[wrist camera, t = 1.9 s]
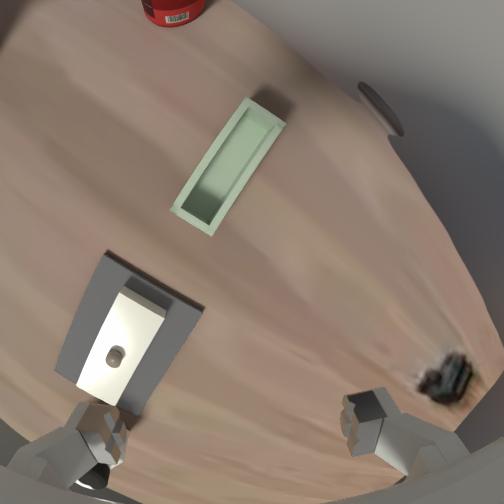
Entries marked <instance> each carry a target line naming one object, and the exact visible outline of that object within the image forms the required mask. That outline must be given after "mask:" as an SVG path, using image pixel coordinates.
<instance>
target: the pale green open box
mask: <svg viewBox="0 0 504 504" xmlns="http://www.w3.org/2000/svg"><path fill="white" fill-rule="evenodd" d="M285 125H286V123H285V122H283V121H282V120H280V119H279V118H278V117H276V116H275V115H273V114H272V113H270V112H269V111H267V110H266V109H264V108H263V107H261V106H260V105H258V104H257V103H255V102H254V101H252V100H251V99H249V98H248V97H246V98H245V99H244V101H243V102H242V103H241V105H240V106H239V107H238V109H237V110H236V111H235V113H234V114H233V116H232V117H231V118H230V120H229V121H228V123H227V124H226V125H225V127H224V128H223V130H222V131H221V132H220V134H219V135H218V137H217V138H216V140H215V141H214V142H213V144H212V145H211V147H210V148H209V150H208V151H207V153H206V154H205V156H204V157H203V159H202V160H201V162H200V163H199V165H198V166H197V168H196V169H195V171H194V172H193V174H192V175H191V177H190V179H189V180H188V182H187V183H186V185H185V186H184V188H183V189H182V191H181V193H180V194H179V196H178V197H177V199H176V201H175V202H174V204H173V206H172V207H171V209H170V210H169V211H171V212H173V213H174V214H176V215H178V216H179V217H181V218H182V219H184V220H186V221H187V222H189V223H190V224H192V225H194V226H195V227H197V228H199V229H200V230H202V231H203V232H205V233H207V234H208V235H210V236H212V235H213V234H214V232H215V230H216V229H217V227H218V226H219V224H220V223H221V221H222V219H223V218H224V216H225V215H226V213H227V212H228V210H229V209H230V207H231V205H232V204H233V202H234V201H235V199H236V198H237V196H238V195H239V193H240V192H241V190H242V189H243V187H244V185H245V184H246V182H247V181H248V179H249V178H250V176H251V175H252V173H253V172H254V170H255V169H256V167H257V166H258V164H259V163H260V161H261V160H262V158H263V157H264V155H265V154H266V152H267V151H268V150H269V148H270V147H271V145H272V144H273V142H274V141H275V139H276V138H277V136H278V135H279V133H280V132H281V131H282V129H283V128H284V126H285Z"/></svg>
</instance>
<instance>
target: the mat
mask: <svg viewBox="0 0 504 504" xmlns="http://www.w3.org/2000/svg"><path fill="white" fill-rule="evenodd" d="M123 286H125V287H127V288H129V289H130V290H132V291H134V292H135V293H137V294H139V295H141V296H142V297H144V298H146V299H147V300H149V301H151V302H153V303H154V304H156V305H158V306H160V307H161V308H163V309H165V310H166V315H165V319H164V321H163V322H162V324H161V326H160V327H159V329H158V331H157V333H156V334H155V336H154V338H153V339H152V341H151V343H150V345H149V346H148V348H147V350H146V352H145V353H144V355H143V357H142V359H141V360H140V362H139V364H138V366H137V367H136V369H135V371H134V373H133V375H132V376H131V378H130V380H129V382H128V383H127V385H126V387H125V389H124V391H123V392H122V394H121V396H120V398H119V400H118V402H117V403H116V405H115V406H117V407H119V408H121V409H124V410H126V411H128V412H130V413H132V414H134V415H136V416H138V415H139V413H140V412H141V410H142V409H143V407H144V405H145V404H146V402H147V401H148V399H149V397H150V396H151V394H152V393H153V391H154V389H155V388H156V386H157V385H158V383H159V382H160V380H161V378H162V377H163V375H164V374H165V372H166V370H167V369H168V367H169V366H170V364H171V363H172V361H173V359H174V358H175V356H176V355H177V353H178V352H179V350H180V348H181V347H182V345H183V344H184V342H185V341H186V339H187V337H188V336H189V334H190V333H191V331H192V330H193V328H194V326H195V325H196V323H197V322H198V320H199V319H200V317H201V315H202V314H203V310H201V309H199V308H197V307H195V306H193V305H192V304H190V303H188V302H186V301H184V300H183V299H181V298H179V297H177V296H176V295H174V294H172V293H170V292H169V291H167V290H165V289H163V288H162V287H160V286H158V285H157V284H155V283H153V282H152V281H150V280H148V279H146V278H145V277H143V276H141V275H140V274H138V273H136V272H135V271H133V270H132V269H130V268H128V267H127V266H125V265H123V264H122V263H120V262H119V261H117V260H115V259H114V258H112V257H111V256H109V255H107V254H106V253H104V254H103V256H102V258H101V260H100V262H99V264H98V266H97V268H96V270H95V272H94V274H93V276H92V279H91V281H90V283H89V285H88V287H87V289H86V292H85V294H84V296H83V298H82V301H81V303H80V305H79V308H78V310H77V312H76V315H75V317H74V320H73V322H72V324H71V327H70V329H69V332H68V335H67V337H66V340H65V342H64V345H63V348H62V350H61V353H60V356H59V359H58V361H57V364H56V367H55V370H54V371H55V372H57V373H59V374H60V375H62V376H63V377H65V378H67V379H68V380H70V381H72V382H73V383H75V384H77V382H78V380H79V377H80V375H81V373H82V370H83V368H84V366H85V363H86V361H87V359H88V356H89V354H90V352H91V350H92V348H93V345H94V343H95V341H96V339H97V337H98V334H99V332H100V330H101V328H102V326H103V324H104V322H105V320H106V318H107V316H108V314H109V312H110V309H111V307H112V305H113V303H114V301H115V299H116V297H117V296H118V294H119V292H120V290H121V289H122V287H123Z"/></svg>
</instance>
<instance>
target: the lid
mask: <svg viewBox="0 0 504 504" xmlns="http://www.w3.org/2000/svg"><path fill="white" fill-rule="evenodd" d="M165 315H166V310H165V309H163V308H161V307H160V306H158V305H156V304H154V303H153V302H151V301H149V300H147V299H146V298H144V297H142V296H141V295H139V294H137V293H135V292H134V291H132V290H130V289H129V288H127V287H125V286H123V287H122V289H121V290H120V292H119V294H118V296H117V297H116V299H115V301H114V303H113V305H112V307H111V309H110V312H109V314H108V316H107V318H106V320H105V322H104V324H103V326H102V328H101V330H100V332H99V334H98V337H97V339H96V341H95V343H94V345H93V348H92V350H91V352H90V354H89V356H88V359H87V361H86V363H85V366H84V368H83V370H82V373H81V375H80V377H79V380H78V382H77V385H76V386H77V387H79V388H81V389H82V390H84V391H86V392H88V393H90V394H91V395H93V396H95V397H97V398H99V399H101V400H103V401H104V402H106V403H108V404H110V405H112V406H115V405H116V403H117V402H118V400H119V398H120V396H121V394H122V392H123V391H124V389H125V387H126V385H127V383H128V382H129V380H130V378H131V376H132V375H133V373H134V371H135V369H136V367H137V366H138V364H139V362H140V360H141V359H142V357H143V355H144V353H145V352H146V350H147V348H148V346H149V345H150V343H151V341H152V339H153V338H154V336H155V334H156V333H157V331H158V329H159V327H160V326H161V324H162V322H163V321H164V319H165Z"/></svg>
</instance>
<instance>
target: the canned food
mask: <svg viewBox="0 0 504 504" xmlns="http://www.w3.org/2000/svg"><path fill="white" fill-rule="evenodd" d="M141 1H142V4H143V8H144V11H145V14H146V16H147V18H148V19H149V20H150V21H152V22H153V23H154V24H156V25H158V26H162V27H177V26H181V25H185V24H187V23H189V22H191V21H192V20H194V19H195V18H196V17H197V16H198V15H199V14H200V13H201V11H202V10H203V9H204V6H205V2H206V0H141Z"/></svg>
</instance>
